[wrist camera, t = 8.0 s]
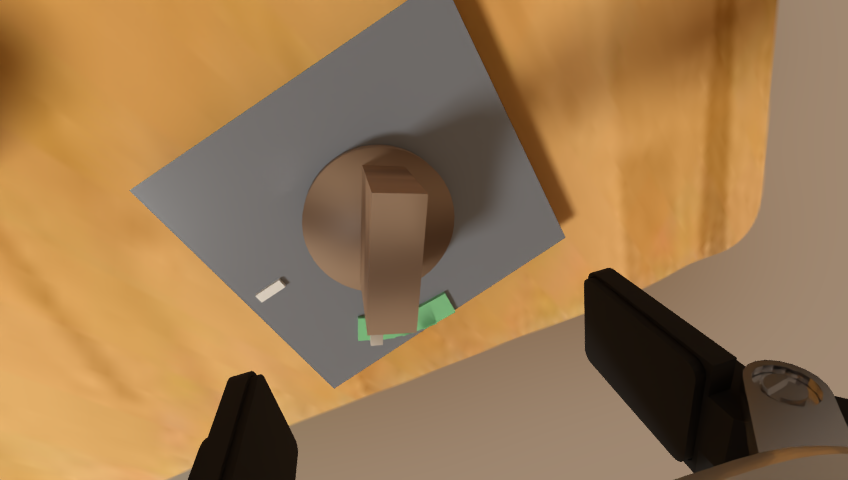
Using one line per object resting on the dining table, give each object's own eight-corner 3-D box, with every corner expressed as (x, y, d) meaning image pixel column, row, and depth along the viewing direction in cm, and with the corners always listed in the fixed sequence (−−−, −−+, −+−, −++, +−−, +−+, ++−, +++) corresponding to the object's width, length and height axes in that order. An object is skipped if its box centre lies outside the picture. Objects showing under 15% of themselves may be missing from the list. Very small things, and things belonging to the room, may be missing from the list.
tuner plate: (433, -15, 22) (443, -25, 20) (551, 228, 30) (567, 239, 27) (145, 181, 23) (126, 191, 20) (334, 370, 30) (333, 391, 28)
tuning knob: (300, 140, 21) (286, 165, 15) (456, 148, 23) (503, 173, 17) (307, 338, 26) (299, 422, 20) (437, 330, 28) (468, 405, 22)
